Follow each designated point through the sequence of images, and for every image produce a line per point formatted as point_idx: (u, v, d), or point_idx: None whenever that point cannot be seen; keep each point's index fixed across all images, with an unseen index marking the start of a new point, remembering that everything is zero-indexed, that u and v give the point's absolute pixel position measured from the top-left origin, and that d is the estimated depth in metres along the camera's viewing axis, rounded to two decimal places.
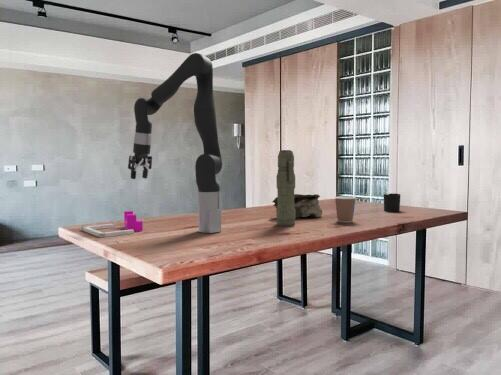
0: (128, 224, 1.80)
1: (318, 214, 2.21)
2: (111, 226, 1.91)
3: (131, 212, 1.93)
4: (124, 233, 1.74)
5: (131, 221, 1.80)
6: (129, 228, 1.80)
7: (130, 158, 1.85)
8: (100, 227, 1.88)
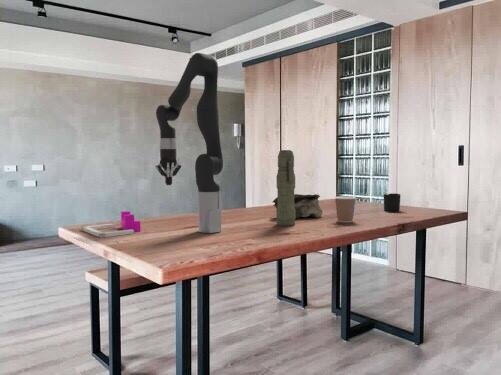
0: (126, 224, 1.79)
1: (318, 214, 2.21)
2: (111, 226, 1.91)
3: (128, 212, 1.92)
4: (124, 233, 1.74)
5: (129, 222, 1.80)
6: (127, 228, 1.79)
7: (157, 168, 1.95)
8: (100, 227, 1.88)
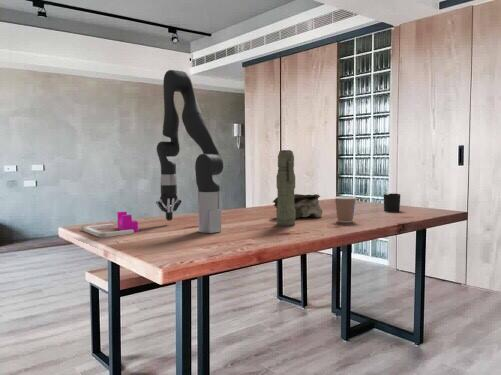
0: (123, 225, 1.78)
1: (318, 214, 2.21)
2: (111, 226, 1.91)
3: (125, 213, 1.91)
4: (124, 233, 1.74)
5: (127, 222, 1.79)
6: (124, 229, 1.78)
7: (157, 204, 1.96)
8: (100, 227, 1.88)
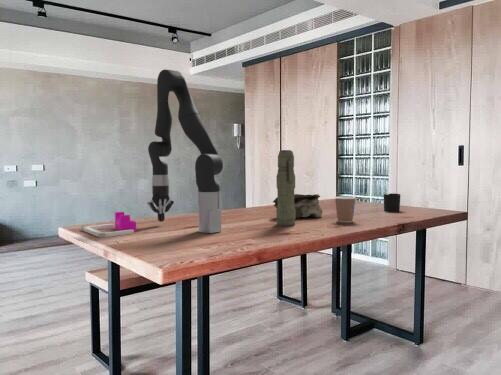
0: (122, 225, 1.77)
1: (318, 214, 2.21)
2: (111, 226, 1.91)
3: (122, 213, 1.90)
4: (124, 233, 1.74)
5: (125, 222, 1.78)
6: (123, 229, 1.78)
7: (149, 205, 1.93)
8: (100, 227, 1.88)
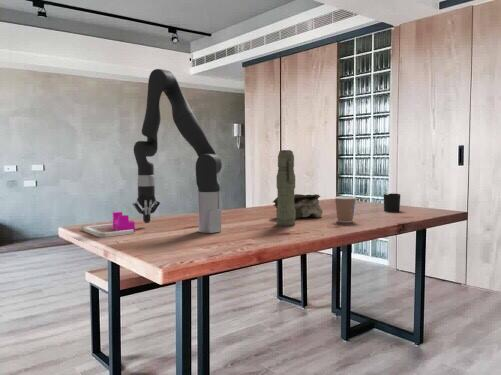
0: (120, 225, 1.77)
1: (318, 214, 2.21)
2: (111, 226, 1.91)
3: (120, 213, 1.89)
4: (124, 233, 1.74)
5: (124, 222, 1.77)
6: (121, 229, 1.77)
7: (134, 206, 1.89)
8: (100, 227, 1.88)
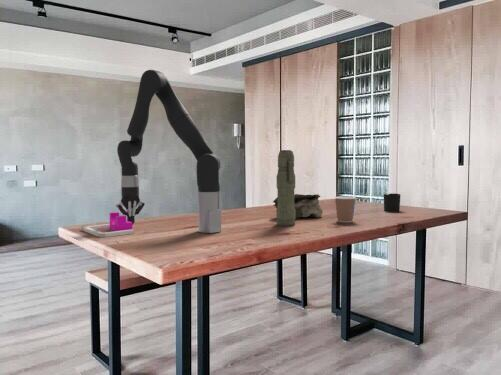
0: (118, 226, 1.76)
1: (318, 214, 2.21)
2: None
3: (117, 213, 1.88)
4: (124, 233, 1.74)
5: (121, 223, 1.76)
6: (119, 230, 1.76)
7: (118, 207, 1.84)
8: (100, 227, 1.88)
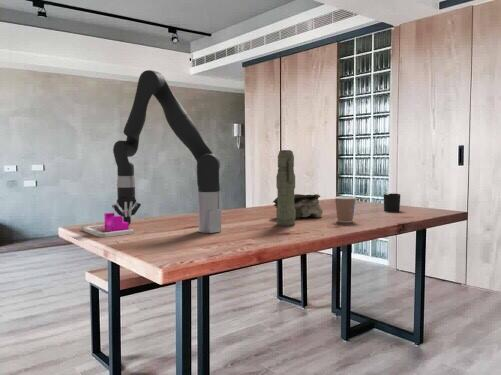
0: (114, 226, 1.75)
1: (318, 214, 2.21)
2: None
3: (112, 214, 1.87)
4: (124, 233, 1.74)
5: (118, 223, 1.75)
6: (115, 230, 1.75)
7: (113, 208, 1.82)
8: (100, 227, 1.88)
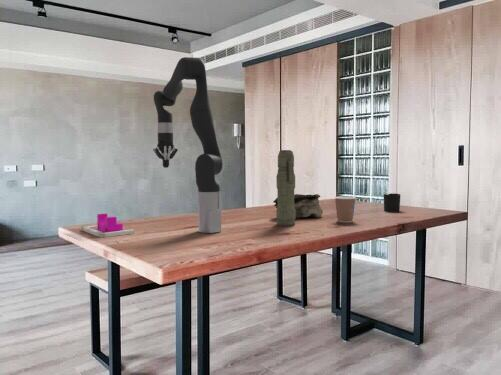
0: (108, 227, 1.72)
1: (319, 214, 2.21)
2: None
3: (105, 215, 1.84)
4: (124, 233, 1.74)
5: (112, 224, 1.73)
6: (109, 231, 1.72)
7: (154, 151, 2.04)
8: None
